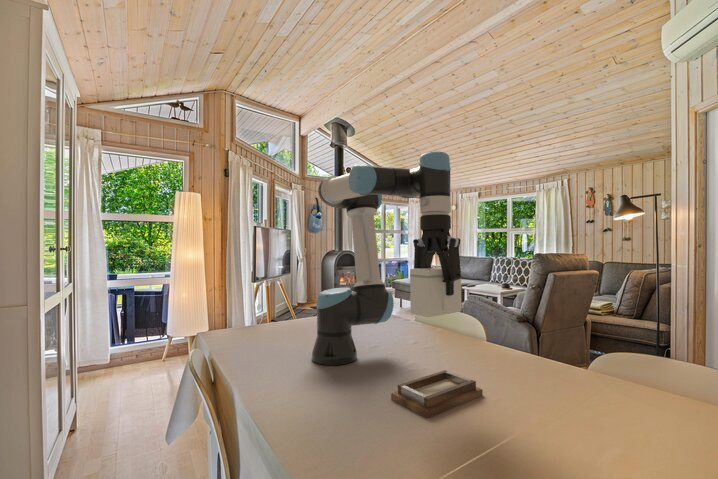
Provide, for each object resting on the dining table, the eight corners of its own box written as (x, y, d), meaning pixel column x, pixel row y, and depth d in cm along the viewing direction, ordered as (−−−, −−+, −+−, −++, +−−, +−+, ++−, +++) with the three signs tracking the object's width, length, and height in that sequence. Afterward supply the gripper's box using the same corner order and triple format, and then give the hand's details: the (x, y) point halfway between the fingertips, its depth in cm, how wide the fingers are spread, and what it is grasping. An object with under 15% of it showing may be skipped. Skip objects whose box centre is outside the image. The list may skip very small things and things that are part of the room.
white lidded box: (410, 313, 88) (410, 269, 88) (443, 308, 95) (442, 267, 95) (428, 317, 83) (428, 270, 83) (461, 311, 90) (461, 268, 90)
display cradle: (391, 399, 87) (391, 384, 88) (445, 380, 99) (445, 368, 99) (427, 418, 78) (427, 402, 78) (482, 395, 90) (482, 381, 90)
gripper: (398, 216, 95) (399, 303, 94) (456, 210, 79) (457, 314, 79) (418, 218, 99) (419, 301, 99) (476, 212, 84) (478, 310, 83)
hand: (436, 306), depth 89 cm, fingers closed on white lidded box, 6 cm apart
